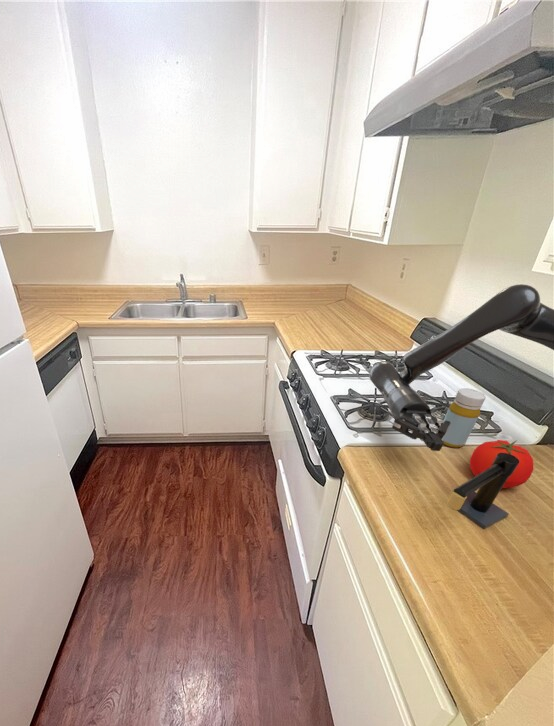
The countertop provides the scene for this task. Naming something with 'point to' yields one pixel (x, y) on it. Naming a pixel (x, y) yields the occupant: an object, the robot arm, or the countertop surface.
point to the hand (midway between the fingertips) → (437, 447)
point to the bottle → (462, 416)
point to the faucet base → (485, 504)
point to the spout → (483, 479)
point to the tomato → (488, 453)
